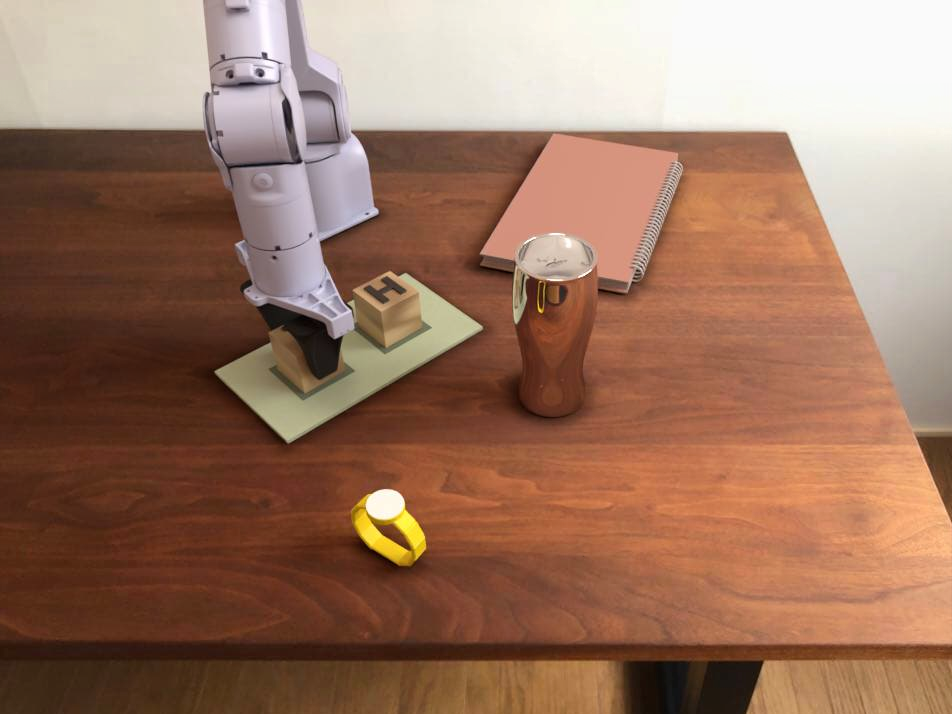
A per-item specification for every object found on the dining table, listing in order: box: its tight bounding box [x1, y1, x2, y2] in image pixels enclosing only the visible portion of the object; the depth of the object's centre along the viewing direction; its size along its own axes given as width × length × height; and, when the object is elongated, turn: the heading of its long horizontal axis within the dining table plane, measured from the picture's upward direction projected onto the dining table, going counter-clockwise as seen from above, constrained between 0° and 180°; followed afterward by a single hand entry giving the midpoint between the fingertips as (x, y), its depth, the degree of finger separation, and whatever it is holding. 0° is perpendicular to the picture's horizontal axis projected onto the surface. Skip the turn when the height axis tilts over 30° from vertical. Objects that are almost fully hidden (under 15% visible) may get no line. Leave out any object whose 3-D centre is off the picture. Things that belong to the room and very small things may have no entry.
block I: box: [267, 325, 345, 393], centre depth 80 cm, size 4×4×5 cm
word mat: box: [214, 272, 484, 444], centre depth 84 cm, size 22×12×1 cm, turn 134°
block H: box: [351, 270, 422, 348], centre depth 84 cm, size 4×4×5 cm
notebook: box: [479, 133, 684, 295], centre depth 101 cm, size 27×17×2 cm, turn 163°
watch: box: [350, 488, 427, 567], centre depth 66 cm, size 6×3×6 cm, turn 58°
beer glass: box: [511, 232, 599, 418], centre depth 75 cm, size 7×7×15 cm
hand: (309, 358), depth 80 cm, fingers open, 5 cm apart
